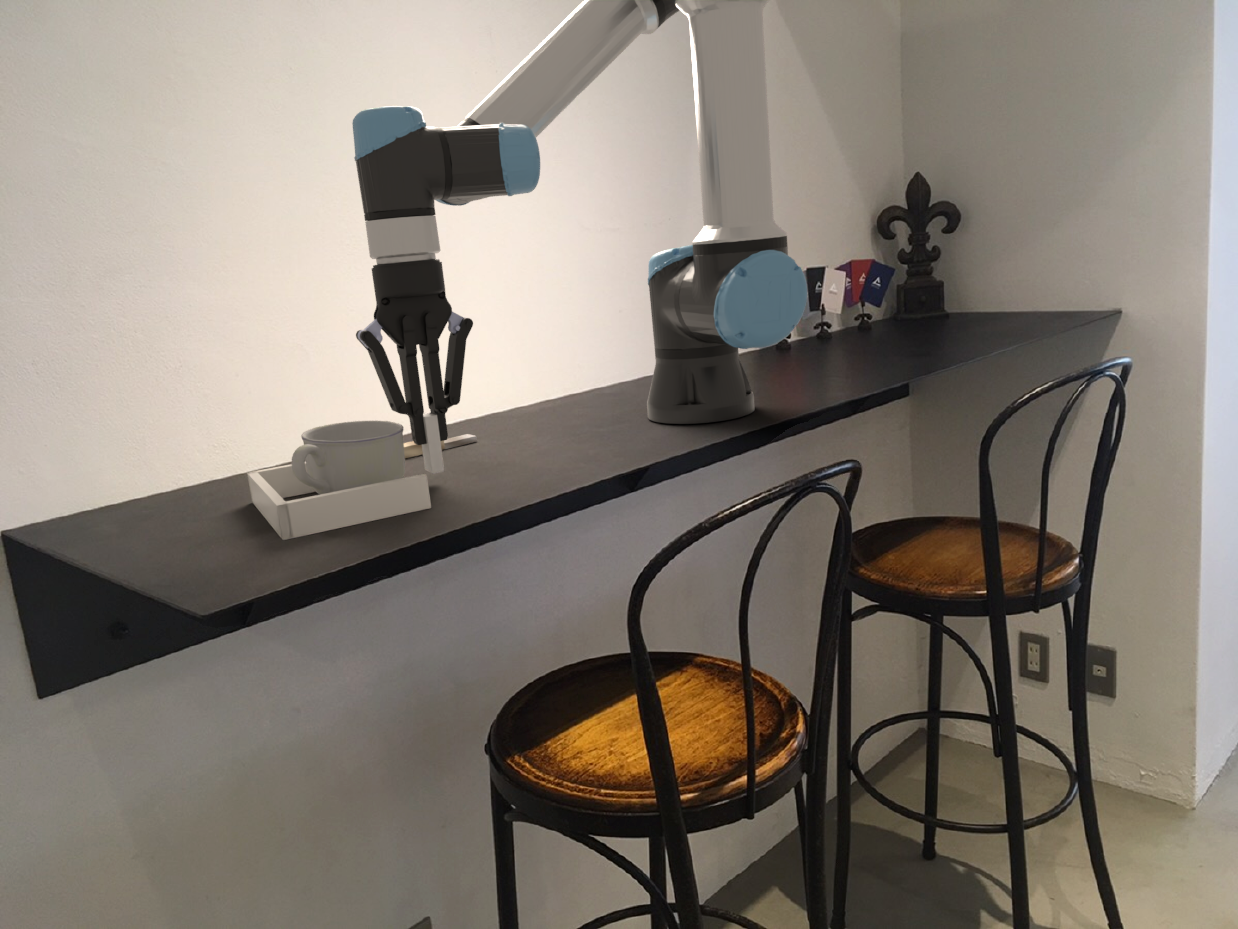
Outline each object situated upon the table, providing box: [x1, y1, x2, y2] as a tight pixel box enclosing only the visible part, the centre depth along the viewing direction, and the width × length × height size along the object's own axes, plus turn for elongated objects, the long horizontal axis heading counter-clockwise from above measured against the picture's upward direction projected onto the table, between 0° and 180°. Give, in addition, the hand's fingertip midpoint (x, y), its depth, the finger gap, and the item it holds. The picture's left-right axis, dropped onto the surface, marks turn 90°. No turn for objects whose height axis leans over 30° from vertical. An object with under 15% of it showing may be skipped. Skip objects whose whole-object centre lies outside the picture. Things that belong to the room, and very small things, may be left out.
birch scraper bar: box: [403, 433, 478, 459], centre depth 127 cm, size 23×2×2 cm, turn 129°
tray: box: [246, 461, 432, 541], centre depth 105 cm, size 15×19×4 cm
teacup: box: [291, 420, 406, 495], centre depth 105 cm, size 14×11×8 cm
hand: (434, 470), depth 110 cm, fingers closed
